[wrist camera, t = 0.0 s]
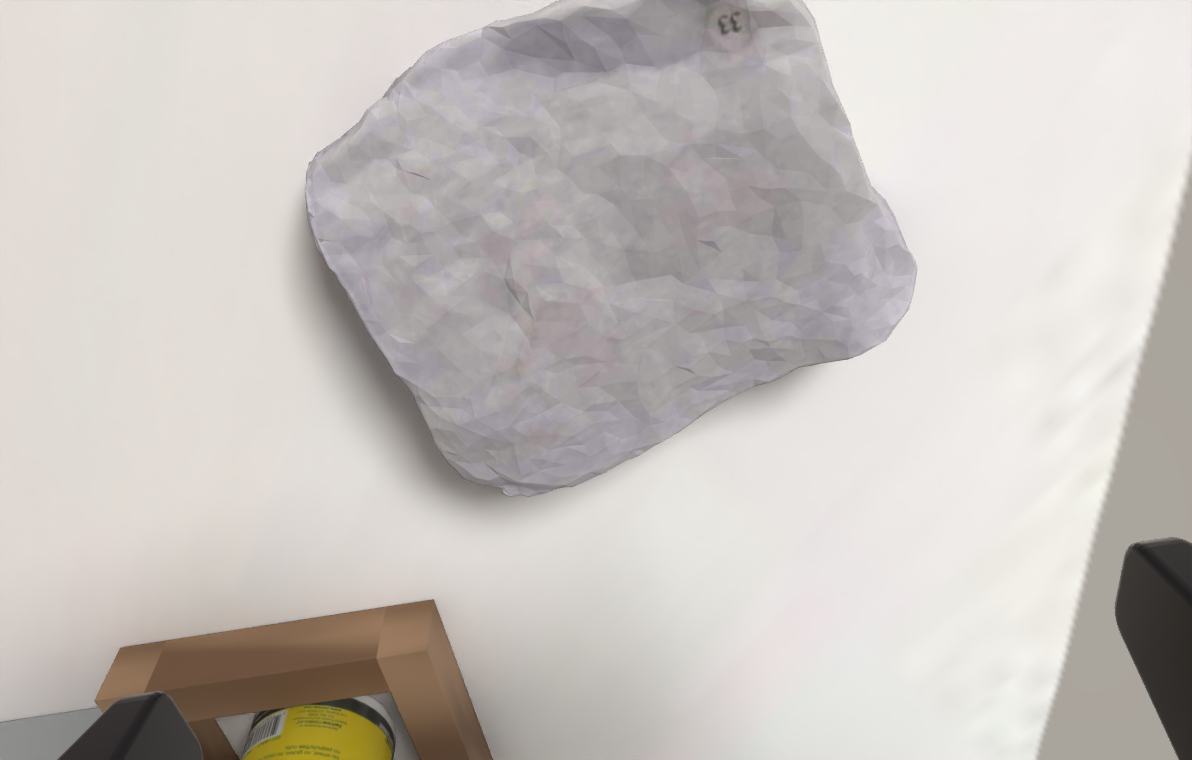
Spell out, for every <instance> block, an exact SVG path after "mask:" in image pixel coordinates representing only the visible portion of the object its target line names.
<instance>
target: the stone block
mask: <svg viewBox="0 0 1192 760" xmlns="http://www.w3.org/2000/svg"><path fill="white" fill-rule="evenodd" d="M305 191H306V192H305V194H306V208H307V218H308V223H309V225H310V228H311V231H312V234H313V237H314V240H315V243H316V247H317V249H318V250H319V252H320V253H321V255H322V256H323V258H324V259H325V262H326V264H327V265H328V267H329V268H330V270H331V271H332V273H333V274H334V275H335V277H336V278H337V279H338V281H339V282H340V284H341V285H342V287H343V288H344V289H345V290H346V294H347V296H348V298H349V299H350V301H351V302H352V303H353V305H354V308H355V311H356V312H357V313H358V315H359V317H360V319H361V321H362V323H363V324H364V326H365V327H366V329H367V331H368V332H369V334H370V335H371V337H372V338H373V340H374V342H375V343H376V345H377V346H378V348H379V349H380V351H381V352H382V354H383V355H384V357H385V358H386V359H387V361H388V362H389V364H390V365H391V367H392V369H393V370H394V372H395V374H396V375H397V376H398V377H399V378H400V379H401V380H402V381H403V382H404V383H405V384H406V385H407V386H408V388H409V389H410V390H411V392H412V393H413V396H414V398H415V401H416V403H417V406H418V408H419V410H420V412H421V414H422V416H423V418H424V419H425V421H426V423H427V425H428V427H429V429H430V432H431V434H432V437H433V439H434V441H435V444H436V446H437V447H438V449H439V450H440V452H441V453H442V455H443V456H444V458H445V459H446V460H447V462H448V463H449V464H450V465H451V466H452V467H453V468H454V469H456V470H457V472H458V473H459V474H460V475H461V476H462V477H463V478H464V479H466V480H469V481H471V482H474V483H477V484H480V485H488V486H495V487H498V488H499V489H500V491H501V492H502V493H503V494H505V495H508V496H516V495H523V496H534V495H537V494H542V493H546V492H549V491H551V490H554V489H557V488H562V487H573V486H576V485H578V484H580V483H582V482H585V481H587V480H589V479H591V478H593V477H595V476H597V475H600V474H602V473H605V472H607V471H608V470H610V469H612V468H614V467H616V466H617V465H619V464H621V463H623V462H624V461H626V460H629V459H631V458H634V457H637V456H639V455H641V454H642V453H644V452H645V451H647V450H649V449H650V448H652V447H653V446H655V445H657V444H659V443H660V442H662V441H664V440H666V439H667V438H669V437H671V436H672V435H674V434H676V433H678V432H679V431H681V430H682V429H684V428H685V427H687V426H688V425H689V424H691V423H692V422H693V421H695V420H696V419H698V418H699V417H700V416H702V415H703V414H705V413H706V412H708V411H709V410H711V409H712V408H714V407H716V406H717V405H719V404H721V403H722V402H724V401H726V400H728V399H729V398H731V397H733V396H735V395H737V394H739V393H741V392H743V391H745V390H747V389H749V388H751V387H753V386H756V385H760V384H763V383H767V382H770V381H773V380H776V379H779V378H781V377H783V376H784V375H786V374H788V373H789V372H791V371H793V370H795V369H796V368H798V367H805V366H811V365H816V364H821V363H827V362H832V361H840V360H847V359H850V358H853V357H856V356H858V355H861V354H863V353H865V352H867V351H868V350H870V349H872V348H874V347H875V346H877V345H879V344H880V343H882V342H884V341H886V340H887V338H888V337H889V335H890V334H891V333H892V331H893V330H894V328H895V327H896V325H897V324H898V323H899V321H900V320H901V319H902V317H903V316H904V315H905V314H906V312H907V311H908V310H909V306H910V303H911V300H912V296H913V292H914V286H915V280H916V274H917V265H916V262H915V260H914V258H913V256H912V254H911V253H910V252H909V250H908V249H907V246H906V243H905V241H904V238H903V236H902V233H901V231H900V229H899V226H898V224H897V221H896V218H895V216H894V214H893V213H892V211H891V209H890V207H889V206H888V204H887V202H886V200H885V199H884V198H883V197H882V196H881V195H880V194H878V193H877V192H876V191H875V189H874V188H873V187H872V186H871V184H870V181H869V179H868V176H867V173H866V171H865V168H864V165H863V162H862V160H861V157H860V154H859V152H858V149H857V147H856V144H855V142H854V139H853V137H852V131H851V125H850V123H849V121H848V118H847V116H846V113H845V111H844V109H843V106H842V104H841V102H840V99H839V97H838V95H837V93H836V91H835V89H834V87H833V84H832V80H831V76H830V72H829V68H828V64H827V60H826V57H825V54H824V51H823V47H822V44H821V41H820V37H819V33H818V29H817V26H816V22H815V19H814V17H813V16H812V14H811V13H810V11H809V9H808V8H807V6H806V5H805V3H804V2H803V0H559V1H555V2H553V3H552V4H550V5H549V6H547V7H545V8H543V9H541V10H539V11H537V12H535V13H532V14H528V15H523V16H519V17H515V18H511V19H508V20H501V21H495V22H493V23H491V24H489V25H487V26H485V27H483V28H481V29H479V30H476V31H473V32H470V33H467V34H464V35H461V36H459V37H456V38H453V39H451V40H448V41H445V42H443V43H441V44H439V45H437V46H435V47H433V48H431V49H430V50H428V51H426V52H425V53H424V54H423V55H422V56H421V57H420V58H419V60H418V61H417V62H416V63H415V64H414V66H413V67H410V68H409V69H408V70H407V71H405V72H404V73H403V74H402V75H401V76H400V77H398V78H396V80H395V81H394V82H393V84H392V85H391V86H390V88H389V89H388V91H387V92H386V93H385V95H384V96H383V98H382V99H381V100H379V101H378V102H376V103H375V104H374V105H373V106H371V107H370V108H369V109H368V110H366V112H365V114H364V115H363V117H362V118H361V120H360V121H359V123H357V124H356V125H355V126H353V127H352V128H351V129H350V130H349V131H347V132H346V133H345V134H344V135H343V136H342V137H341V138H340V139H338V140H336V141H335V142H333V143H332V144H330V145H329V146H327V147H326V148H324V149H323V150H322V151H320V152H317V154H316V155H315V157H314V159H313V160H312V161H311V162H309V166H308V169H307V171H306V187H305Z"/></svg>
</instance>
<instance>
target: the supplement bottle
mask: <svg viewBox="0 0 1192 760" xmlns="http://www.w3.org/2000/svg"><path fill="white" fill-rule="evenodd" d="M395 743H396V731H395V726H394V723H393V721H392V718H391V717H390V715H389V713H388V712H387V710H386V709H385V708H384V707H383V706H382V704H381V703H379V702H378V701H377V700H376V699H374V698H373V697H371V696H370V695H367V696H360V697H353V698H347V699H340V700H333V701H326V702H320V703H313V704H306V705H300V706H293V707H286V708H280V709H273V710H266V711H260V712H257V714H256V716H255V718H254V721H253V724H252V727H251V730H250V733H249V737H248V740H247V743H246V746H245V749H244V752H243V756H242V759H241V760H393V757H394V751H395Z"/></svg>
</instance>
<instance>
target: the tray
mask: <svg viewBox="0 0 1192 760" xmlns="http://www.w3.org/2000/svg"><path fill="white" fill-rule="evenodd" d="M102 714H103V713H102V711H101V710H100V708H93V709H86V710H80V711H73V712H66V713H60V714H53V715H46V716H40V717H33V718H27V719H20V720H13V721H7V722H0V760H57V759H58V758H59V757H60V756H61V755H62V754H63V753H64V752H65V751H66V750H67V749H68V748H69V747H70V746H71V745H72V744H73V743H74V742H75V741H76V740H77V739H78V738H79V737H80V736H81V735H82V734H83V733H84V732H85V731H86V730H87V729H88V728H89V727H90V726H91V725H92V724H93V723H94V722H95V721H96V720H97V719H98V718H99V717H100V716H101V715H102Z"/></svg>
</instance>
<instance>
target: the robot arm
mask: <svg viewBox="0 0 1192 760" xmlns="http://www.w3.org/2000/svg"><path fill="white" fill-rule="evenodd" d="M1115 616H1116V621H1117V625H1118V628H1119V631H1120V633H1121V636H1122V638H1123V640H1124V642H1125V644H1126V647H1127V649H1128V651H1129V653H1130V655H1131V657H1132V660H1133V662H1134V664H1135V666H1136V668H1137V670H1138V673H1139V674H1140V677H1141V679H1142V681H1143V683H1144V685H1145V688H1146V690H1147V692H1148V694H1149V696H1150V699H1151V701H1152V703H1153V705H1154V707H1155V709H1156V712H1157V714H1158V716H1159V718H1160V720H1161V722H1162V725H1163V727H1164V729H1165V731H1166V733H1167V735H1168V738H1169V740H1170V742H1171V744H1172V746H1173V749H1174V750H1175V753H1176V755H1177V757H1178V759H1179V760H1192V543H1190V542H1188V541H1186V540H1183V539H1180V538H1175V537H1169V538H1161V539H1155V540H1149V541H1142V542H1136V543H1133V544H1131V545H1130V546H1129V548H1128V549H1127V550H1126V553H1125V556H1124V561H1123V566H1122V571H1121V576H1120V581H1119V586H1118V591H1117V596H1116V602H1115ZM57 760H203V753H202V748H201V745H200V742H199V740H198V738H197V737H196V735H195V733H194V732H193V730H192V729H191V727H190V726H189V724H188V722H187V721H186V719H185V718H184V716H183V715H182V713H181V711H180V710H179V708H178V707H177V705H176V704H175V702H174V700H173V699H172V698H171V697H170V695H168V694H166V693H164V692H162V691H155V692H148V693H142V694H135V695H129V696H125V697H122V698H120V699H118V700H117V701H115V702H114V703H113V704H112V705H111V706H110V707H109V708H108V709H107V710H106V711H105V712H104V713H103V714H102V715H101V716H100V717H99V718H98V719H97V720H96V721H95V722H94V723H93V724H92V725H91V726H90V727H89V728H88V729H87V730H86V731H85V732H84V733H83V734H82V735H81V736H80V737H79V738H78V739H77V740H76V741H75V742H74V743H73V744H72V745H71V746H70V747H69V748H68V749H67V750H66V751H65V752H64V753H63V754H62V755H61V756H60V757H59V758H58V759H57Z"/></svg>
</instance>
